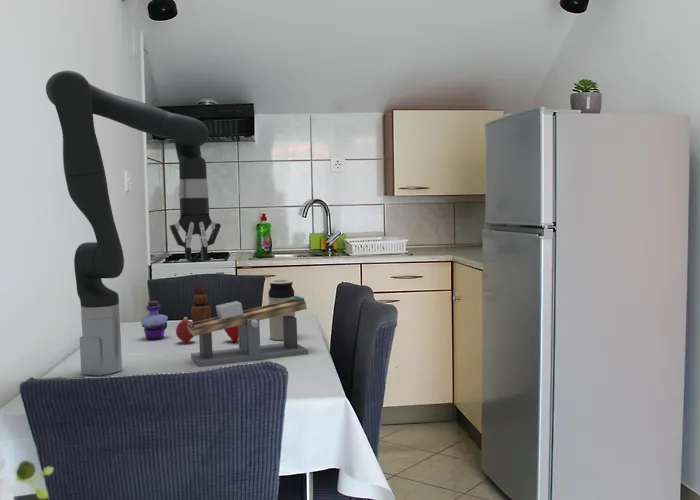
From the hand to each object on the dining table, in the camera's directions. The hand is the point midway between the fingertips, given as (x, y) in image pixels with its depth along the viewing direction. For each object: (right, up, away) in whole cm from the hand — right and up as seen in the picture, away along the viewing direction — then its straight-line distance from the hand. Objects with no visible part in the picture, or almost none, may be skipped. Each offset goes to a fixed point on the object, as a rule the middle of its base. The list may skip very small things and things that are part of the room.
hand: (196, 261), depth 180 cm
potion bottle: (-21, -25, +35) cm, 48 cm away
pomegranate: (-9, -26, +27) cm, 38 cm away
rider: (+8, -16, +5) cm, 19 cm away
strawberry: (+6, -25, +26) cm, 37 cm away
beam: (+13, -16, +7) cm, 22 cm away
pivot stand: (+13, -26, +7) cm, 30 cm away
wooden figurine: (-11, -24, +55) cm, 61 cm away
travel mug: (+20, -25, +30) cm, 44 cm away
